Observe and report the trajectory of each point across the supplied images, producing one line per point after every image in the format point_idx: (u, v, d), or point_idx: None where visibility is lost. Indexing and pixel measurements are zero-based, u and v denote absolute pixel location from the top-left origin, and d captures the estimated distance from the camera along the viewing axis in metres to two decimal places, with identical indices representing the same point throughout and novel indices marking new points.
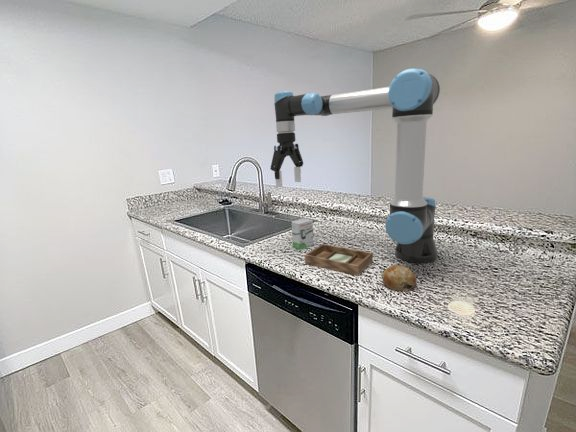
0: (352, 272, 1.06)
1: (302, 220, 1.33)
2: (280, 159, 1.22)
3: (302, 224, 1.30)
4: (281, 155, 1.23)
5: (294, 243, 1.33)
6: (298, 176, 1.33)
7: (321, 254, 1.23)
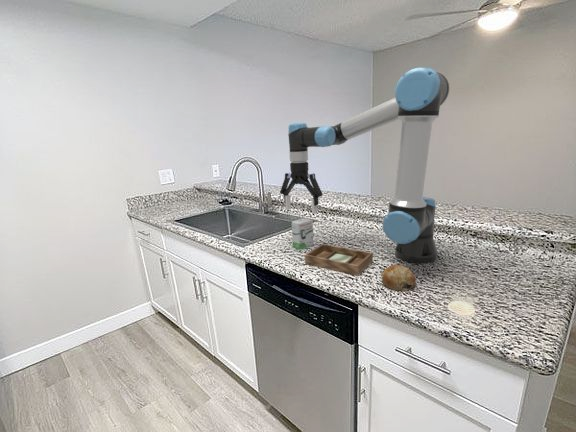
0: (352, 272, 1.06)
1: (302, 220, 1.33)
2: None
3: (302, 224, 1.30)
4: None
5: (294, 243, 1.33)
6: None
7: (321, 254, 1.23)
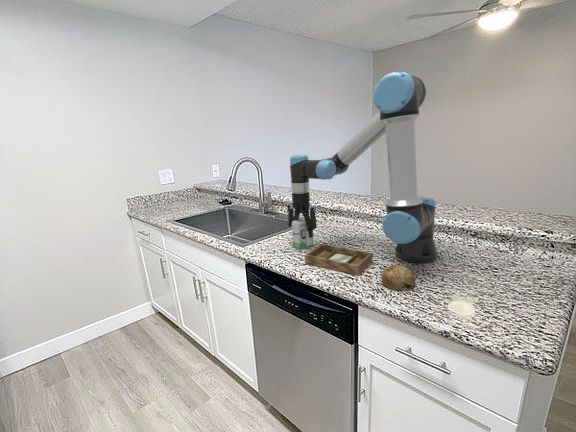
0: (352, 272, 1.06)
1: (302, 220, 1.33)
2: None
3: (302, 224, 1.30)
4: None
5: (294, 243, 1.33)
6: None
7: (321, 254, 1.23)
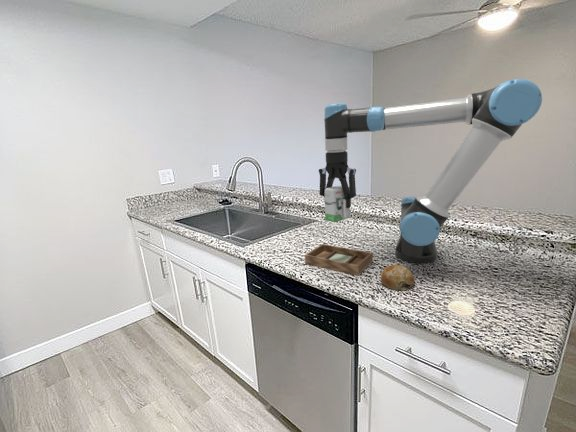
0: (352, 272, 1.06)
1: (337, 187, 1.09)
2: None
3: (338, 191, 1.06)
4: None
5: (327, 215, 1.09)
6: None
7: (321, 254, 1.23)
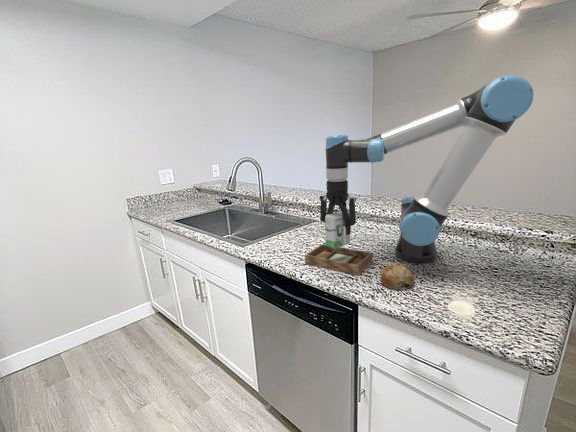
0: (352, 272, 1.06)
1: (337, 214, 1.12)
2: None
3: (338, 218, 1.09)
4: None
5: (328, 241, 1.12)
6: None
7: (321, 254, 1.23)
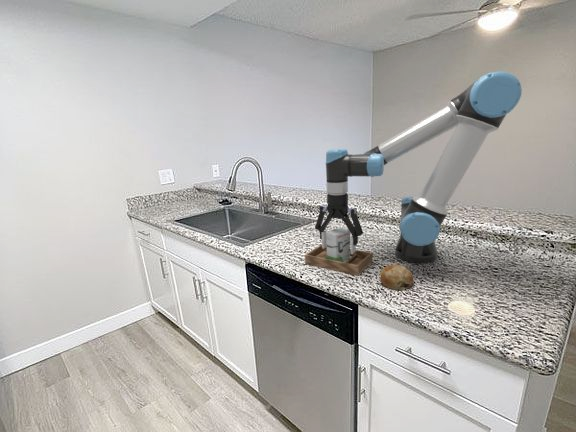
0: (352, 272, 1.06)
1: (338, 230, 1.13)
2: None
3: (340, 235, 1.10)
4: None
5: (329, 257, 1.13)
6: None
7: (321, 254, 1.23)
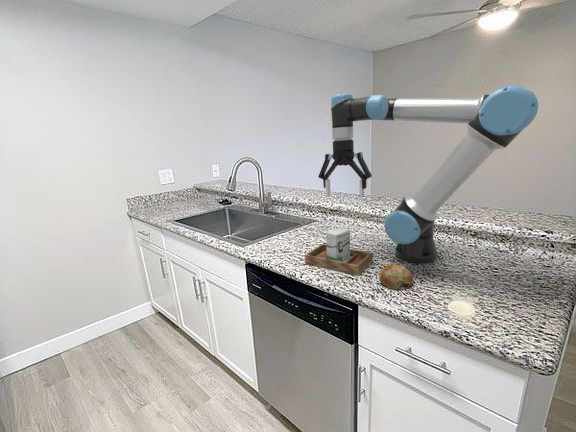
0: (352, 272, 1.06)
1: (337, 230, 1.13)
2: None
3: (339, 235, 1.10)
4: None
5: (329, 257, 1.13)
6: None
7: (321, 254, 1.23)
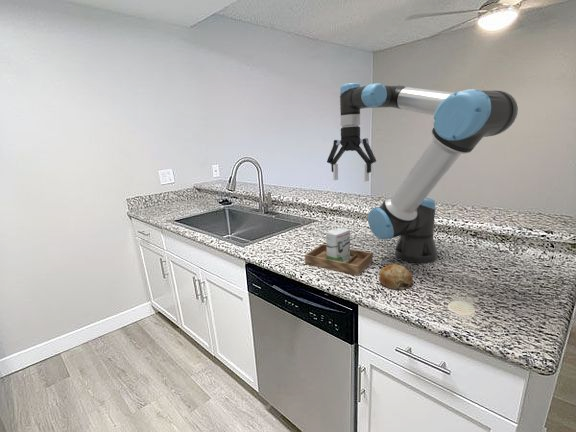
0: (352, 272, 1.06)
1: (337, 230, 1.13)
2: None
3: (339, 235, 1.10)
4: None
5: (329, 257, 1.13)
6: None
7: (321, 254, 1.23)
